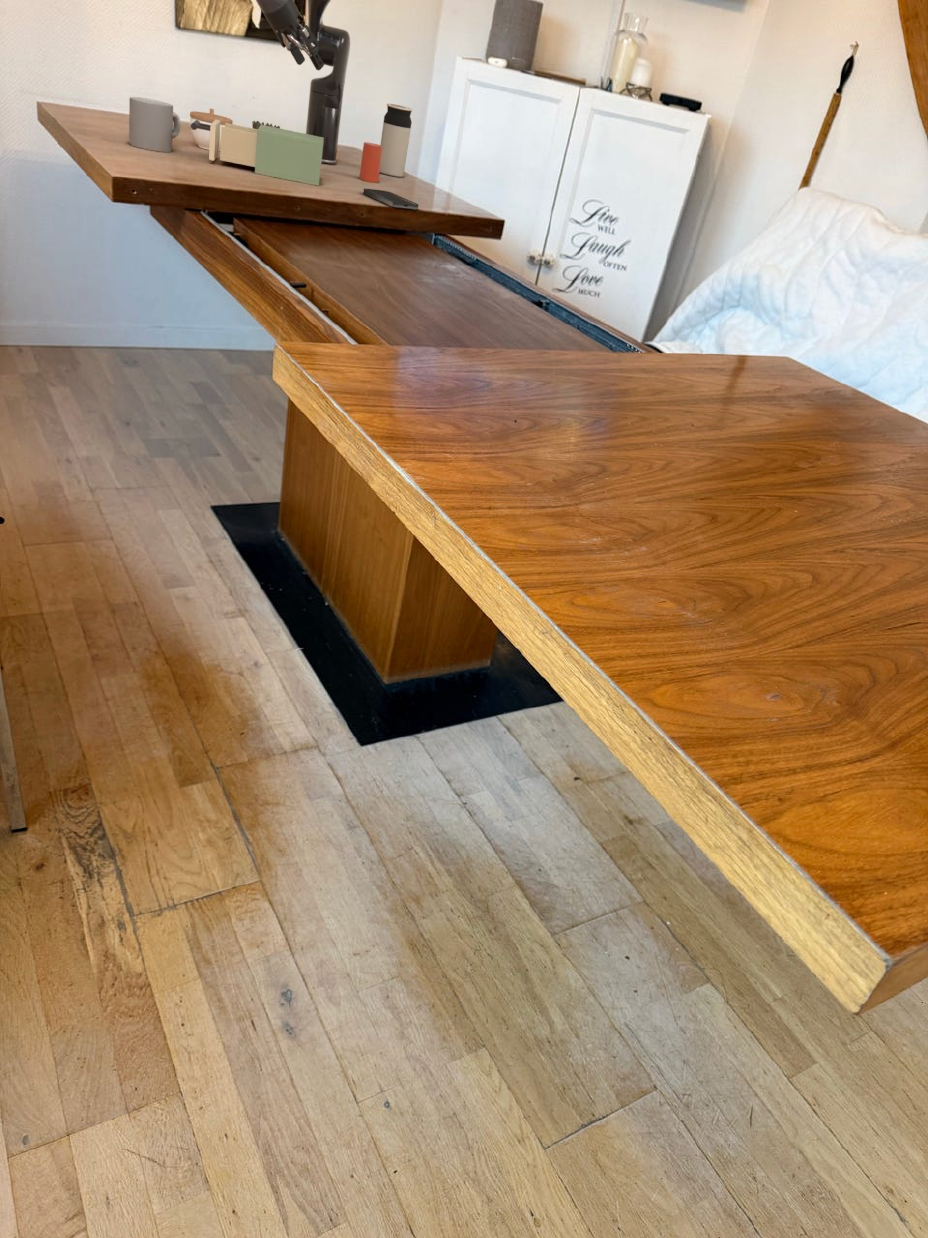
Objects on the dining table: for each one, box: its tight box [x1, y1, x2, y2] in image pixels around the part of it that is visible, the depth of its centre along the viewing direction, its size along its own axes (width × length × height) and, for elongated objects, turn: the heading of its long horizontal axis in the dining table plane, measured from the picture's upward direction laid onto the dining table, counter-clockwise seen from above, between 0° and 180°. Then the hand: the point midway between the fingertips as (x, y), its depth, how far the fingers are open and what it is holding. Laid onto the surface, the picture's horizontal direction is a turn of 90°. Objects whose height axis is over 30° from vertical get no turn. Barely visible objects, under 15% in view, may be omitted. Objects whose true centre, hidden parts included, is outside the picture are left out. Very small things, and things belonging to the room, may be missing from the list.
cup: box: [251, 120, 281, 129], centre depth 250 cm, size 8×7×8 cm
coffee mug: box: [128, 96, 181, 153], centre depth 224 cm, size 13×10×10 cm
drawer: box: [190, 120, 258, 168], centre depth 225 cm, size 19×11×8 cm, turn 97°
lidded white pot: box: [189, 108, 233, 152], centre depth 241 cm, size 11×11×9 cm
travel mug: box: [379, 103, 413, 178], centre depth 267 cm, size 8×8×18 cm
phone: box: [362, 188, 419, 211], centre depth 227 cm, size 8×1×15 cm
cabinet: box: [254, 124, 324, 187], centre depth 228 cm, size 16×13×10 cm
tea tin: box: [359, 141, 383, 184], centre depth 250 cm, size 5×5×9 cm
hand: (311, 65), depth 226 cm, fingers open, 8 cm apart
